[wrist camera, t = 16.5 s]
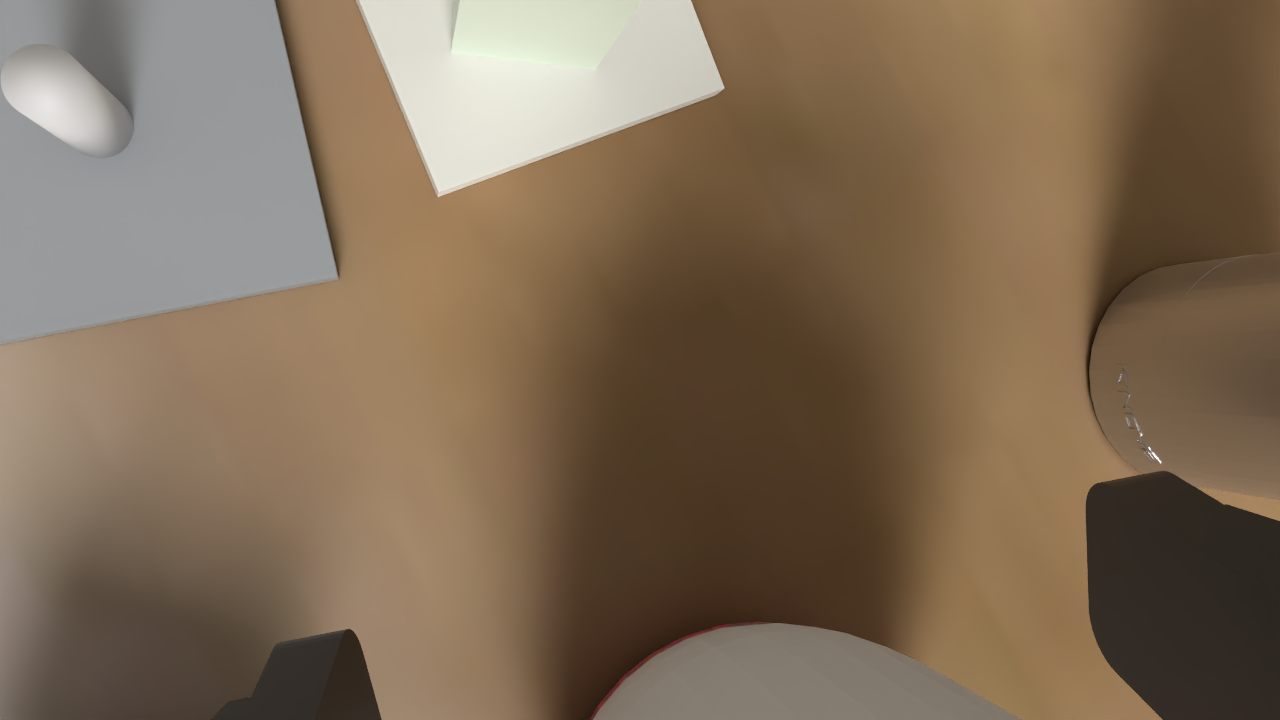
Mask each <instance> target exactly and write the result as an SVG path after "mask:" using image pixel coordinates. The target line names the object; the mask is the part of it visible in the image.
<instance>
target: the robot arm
mask: <svg viewBox="0 0 1280 720" xmlns="http://www.w3.org/2000/svg"><path fill="white" fill-rule="evenodd" d="M1089 375H1090V390H1091V397H1092V401H1093V405H1094V409H1095V413H1096V417H1097V419H1098V421H1099V423H1100V425H1101V427H1102V430H1103V432H1104V434H1105V436H1106V438H1107V439H1108V441H1109V442H1110V443H1111V445H1112V446H1113V447H1114V449H1115V450H1116V451H1117V453H1118V454H1119V455H1120V456H1121V457H1122V458H1123V459H1124V460H1126V461H1127V462H1128V463H1129V464H1130V465H1131V466H1132V467H1134V468H1135V469H1136V470H1138V471H1140V472H1142V473H1144V474H1142V475H1137V476H1132V477H1127V478H1122V479H1117V480H1112V481H1106V482H1101V483H1097V484H1095V485H1093V486H1092V487H1091V489H1090V490H1089V492H1088V495H1087V500H1086V533H1087V564H1088V595H1089V615H1090V621H1091V625H1092V629H1093V632H1094V635H1095V638H1096V641H1097V643H1098V646H1099V648H1100V650H1101V652H1102V654H1103V655H1104V657H1105V659H1106V660H1107V662H1108V663H1109V665H1110V666H1111V667H1112V668H1113V670H1114V671H1115V672H1116V673H1117V674H1118V675H1119V676H1120V677H1121V678H1122V679H1123V680H1124V681H1125V682H1126V683H1127V684H1128V685H1129V686H1130V687H1131V688H1132V689H1133V690H1134V691H1135V692H1136V693H1137V694H1138V695H1139V696H1140V697H1141V698H1142V699H1143V700H1144V701H1145V702H1146V703H1147V704H1148V705H1149V706H1150V707H1151V708H1152V709H1153V710H1154V711H1155V712H1156V713H1157V714H1158V715H1159V716H1160V717H1161V718H1162V719H1163V720H1280V521H1277V520H1274V519H1271V518H1268V517H1265V516H1261V515H1258V514H1255V513H1252V512H1249V511H1246V510H1243V509H1239V508H1236V507H1233V506H1230V505H1227V504H1226V505H1223V504H1222V503H1220V502H1219V501H1217V500H1215V499H1214V498H1212V497H1210V496H1209V495H1207V494H1205V493H1204V492H1202V491H1201V490H1199V489H1197V488H1196V487H1201V488H1208V489H1215V490H1221V491H1228V492H1234V493H1240V494H1245V495H1251V496H1257V497H1264V498H1270V499H1277V500H1280V252H1275V253H1267V254H1259V255H1247V256H1239V257H1231V258H1224V259H1216V260H1208V261H1201V262H1193V263H1185V264H1177V265H1172V266H1166V267H1160V268H1157V269H1155V270H1152V271H1150V272H1148V273H1146V274H1143V275H1141V276H1139V277H1138V278H1137V279H1135V280H1134V281H1133V282H1131V283H1130V284H1129V285H1128V286H1126V287H1125V288H1124V289H1123V290H1122V291H1121V292H1120V293H1119V295H1118V296H1117V297H1116V298H1115V299H1114V300H1113V302H1112V303H1111V304H1110V305H1109V307H1108V309H1107V311H1106V313H1105V315H1104V316H1103V318H1102V320H1101V322H1100V324H1099V326H1098V329H1097V333H1096V336H1095V339H1094V342H1093V346H1092V351H1091V360H1090V368H1089ZM1194 486H1195V487H1194ZM211 720H381V716H380V713H379V709H378V705H377V702H376V698H375V694H374V691H373V687H372V684H371V680H370V676H369V673H368V669H367V665H366V662H365V658H364V655H363V651H362V648H361V645H360V642H359V640H358V638H357V636H356V634H355V633H354V632H353V631H352V630H351V629H346V630H341V631H336V632H331V633H326V634H321V635H315V636H310V637H305V638H300V639H295V640H290V641H285V642H280V643H278V644H277V645H276V646H275V647H274V649H273V651H272V653H271V655H270V657H269V659H268V662H267V664H266V666H265V668H264V671H263V673H262V675H261V677H260V679H259V682H258V684H257V686H256V688H255V690H254V693H253V695H252V697H250V698H245V699H240V700H235V701H230V702H228V703H227V704H226V705H225V706H224V707H223V708H222V709H221V710H220V711H219V712H218V713H217V714H216V715H215V716H214V717H213V718H212V719H211Z"/></svg>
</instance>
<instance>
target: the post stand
mask: <svg viewBox="0 0 1280 720" xmlns="http://www.w3.org/2000/svg"><path fill="white" fill-rule="evenodd" d="M334 280H339V275H338V271H337V267H336V262H335V258H334V254H333V249H332V245H331V240H330V236H329V232H328V227H327V223H326V219H325V214H324V210H323V206H322V201H321V197H320V193H319V188H318V184H317V179H316V175H315V171H314V166H313V162H312V158H311V153H310V149H309V145H308V140H307V136H306V132H305V127H304V123H303V118H302V114H301V110H300V105H299V101H298V97H297V92H296V88H295V84H294V79H293V75H292V70H291V66H290V62H289V57H288V53H287V49H286V44H285V40H284V36H283V31H282V27H281V23H280V18H279V14H278V9H277V5H276V1H275V0H0V345H2V344H7V343H12V342H17V341H23V340H28V339H33V338H38V337H43V336H49V335H54V334H59V333H64V332H69V331H74V330H80V329H85V328H90V327H95V326H100V325H106V324H111V323H116V322H121V321H126V320H132V319H137V318H142V317H147V316H152V315H157V314H163V313H168V312H173V311H178V310H183V309H189V308H194V307H199V306H204V305H209V304H215V303H220V302H225V301H230V300H235V299H240V298H246V297H251V296H256V295H261V294H266V293H272V292H277V291H282V290H287V289H292V288H298V287H303V286H308V285H313V284H318V283H323V282H329V281H334Z"/></svg>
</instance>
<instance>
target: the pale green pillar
mask: <svg viewBox="0 0 1280 720" xmlns="http://www.w3.org/2000/svg"><path fill="white" fill-rule="evenodd" d="M641 2H642V0H453V14H452V35H451V53H458V54H466V55H475V56H483V57H492V58H500V59H509V60H517V61H525V62H534V63H542V64H551V65H559V66H568V67H576V68H585V69H593V70H596V68H597V67H598V65H599V64H600V62H601V61H602V59H603V58H604V56H605V55H606V53H607V52H608V50H609V49H610V47H611V46H612V45H613V43H614V42H615V40H616V39H617V37H618V36H619V34H620V33H621V31H622V30H623V28H624V27H625V25H626V24H627V22H628V21H629V19H630V18H631V16H632V15H633V14H634V12H635V11H636V9H637V8H638V6H639V5H640V3H641Z"/></svg>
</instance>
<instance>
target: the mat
mask: <svg viewBox="0 0 1280 720" xmlns="http://www.w3.org/2000/svg"><path fill="white" fill-rule="evenodd" d="M356 2H357V5H358V7H359V9H360V12H361V14H362V17H363V19H364V21H365V24H366V26H367V29H368V31H369V33H370V36H371V38H372V41H373V43H374V46H375V48H376V50H377V53H378V55H379V58H380V60H381V62H382V65H383V67H384V70H385V72H386V74H387V77H388V79H389V82H390V84H391V86H392V89H393V91H394V94H395V96H396V98H397V101H398V103H399V106H400V108H401V111H402V113H403V115H404V118H405V120H406V123H407V125H408V127H409V130H410V132H411V135H412V137H413V139H414V142H415V144H416V147H417V149H418V151H419V154H420V156H421V159H422V161H423V164H424V166H425V168H426V171H427V173H428V176H429V178H430V180H431V183H432V185H433V188H434V190H435V192H436V195H437V197H440V196H442V195H445V194H448V193H451V192H453V191H456V190H459V189H462V188H464V187H467V186H470V185H472V184H475V183H478V182H481V181H483V180H486V179H489V178H492V177H494V176H497V175H500V174H502V173H505V172H508V171H511V170H513V169H516V168H519V167H522V166H524V165H527V164H530V163H533V162H535V161H538V160H541V159H543V158H546V157H549V156H552V155H554V154H557V153H560V152H563V151H565V150H568V149H571V148H573V147H576V146H579V145H582V144H584V143H587V142H590V141H593V140H595V139H598V138H601V137H604V136H606V135H609V134H612V133H614V132H617V131H620V130H623V129H625V128H628V127H631V126H634V125H636V124H639V123H642V122H644V121H647V120H650V119H653V118H655V117H658V116H661V115H664V114H666V113H669V112H672V111H675V110H677V109H680V108H683V107H685V106H688V105H691V104H694V103H696V102H699V101H702V100H705V99H707V98H710V97H713V96H715V95H717V94H718V93H719V92H720V91H722V90H723V89H724V85H723V83H722V80H721V77H720V75H719V72H718V70H717V67H716V64H715V62H714V59H713V57H712V54H711V51H710V49H709V46H708V44H707V41H706V38H705V36H704V33H703V31H702V28H701V25H700V23H699V20H698V18H697V15H696V12H695V10H694V7H693V5H692V2H691V0H642V2H641V3H640V5H639V6H638V8H637V9H636V11H635V12H634V14H633V15H632V16H631V18H630V19H629V21H628V22H627V24H626V25H625V27H624V28H623V30H622V31H621V33H620V34H619V36H618V37H617V39H616V40H615V42H614V43H613V45H612V46H611V47H610V49H609V50H608V52H607V53H606V55H605V56H604V58H603V59H602V61H601V62H600V64H599V65H598V67H597V68H596V70H593V69H585V68H576V67H568V66H559V65H551V64H542V63H534V62H525V61H517V60H509V59H500V58H492V57H483V56H475V55H466V54H458V53H451V35H452V14H453V0H356Z"/></svg>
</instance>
